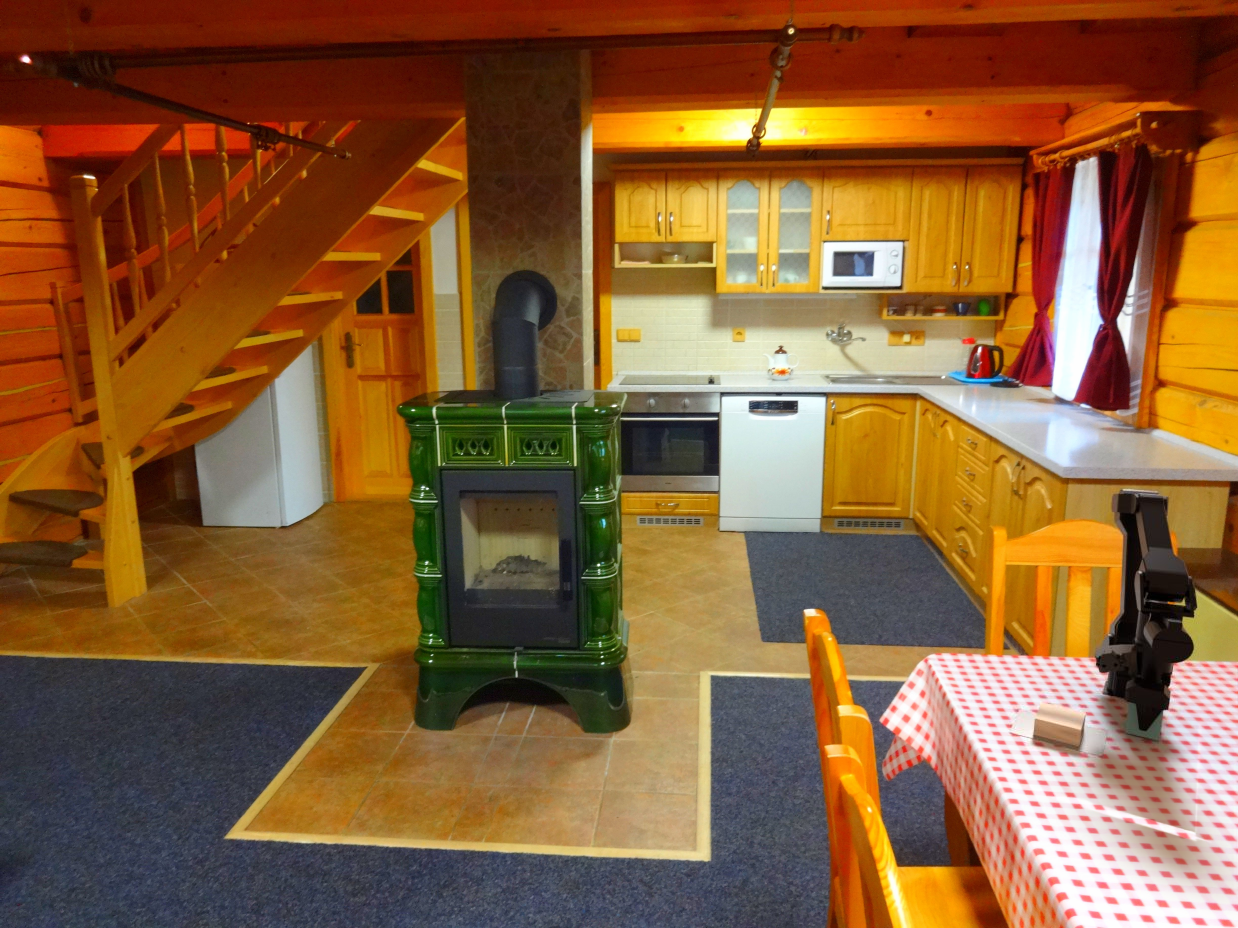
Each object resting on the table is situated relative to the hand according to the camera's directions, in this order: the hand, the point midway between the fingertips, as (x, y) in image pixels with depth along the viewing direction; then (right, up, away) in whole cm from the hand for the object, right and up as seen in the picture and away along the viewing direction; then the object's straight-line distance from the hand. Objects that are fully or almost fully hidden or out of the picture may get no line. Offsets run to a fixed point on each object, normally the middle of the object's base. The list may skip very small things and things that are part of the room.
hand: (1143, 723), depth 150 cm
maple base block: (-14, -1, 0) cm, 14 cm away
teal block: (0, -1, 0) cm, 1 cm away
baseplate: (-14, -2, 0) cm, 15 cm away
